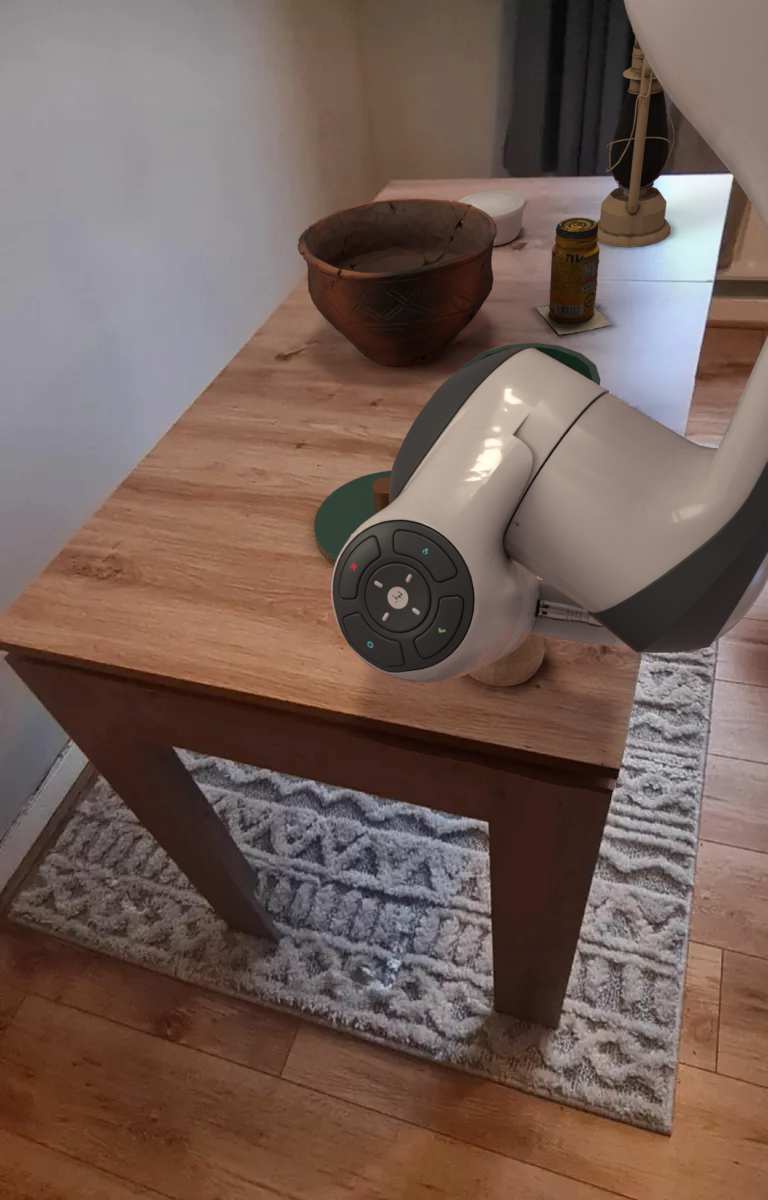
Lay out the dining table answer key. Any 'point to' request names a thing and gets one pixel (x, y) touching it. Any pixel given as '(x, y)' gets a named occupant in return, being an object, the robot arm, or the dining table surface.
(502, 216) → the ramekin
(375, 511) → the lid
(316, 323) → the dining table surface
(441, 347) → the bowl
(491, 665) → the figurine
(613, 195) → the lantern
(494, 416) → the robot arm
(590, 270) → the condiment
